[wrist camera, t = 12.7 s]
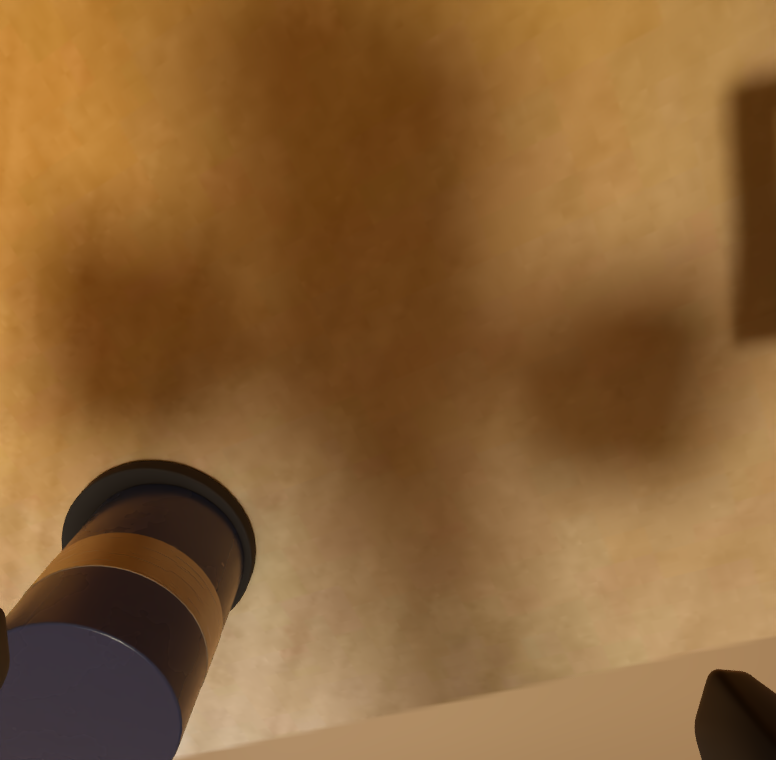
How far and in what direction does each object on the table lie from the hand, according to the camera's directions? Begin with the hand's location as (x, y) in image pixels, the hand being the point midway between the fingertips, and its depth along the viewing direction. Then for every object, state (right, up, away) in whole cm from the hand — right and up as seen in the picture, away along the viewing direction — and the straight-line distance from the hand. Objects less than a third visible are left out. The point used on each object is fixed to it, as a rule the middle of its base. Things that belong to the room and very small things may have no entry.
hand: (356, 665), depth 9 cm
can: (-7, -2, +13) cm, 15 cm away
